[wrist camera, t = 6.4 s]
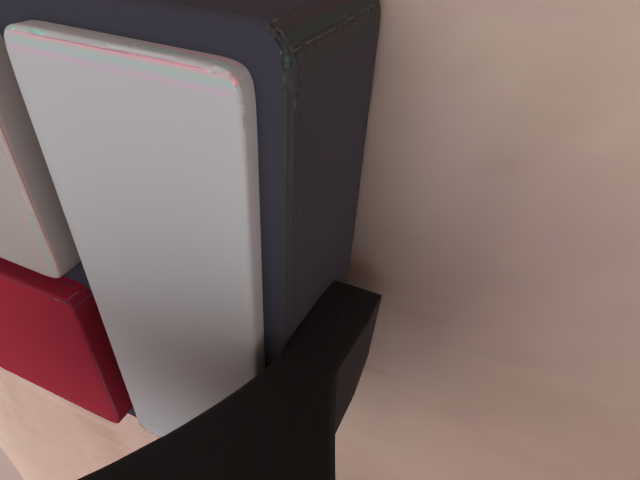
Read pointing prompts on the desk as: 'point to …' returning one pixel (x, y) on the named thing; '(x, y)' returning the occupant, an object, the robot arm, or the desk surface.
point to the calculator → (173, 190)
